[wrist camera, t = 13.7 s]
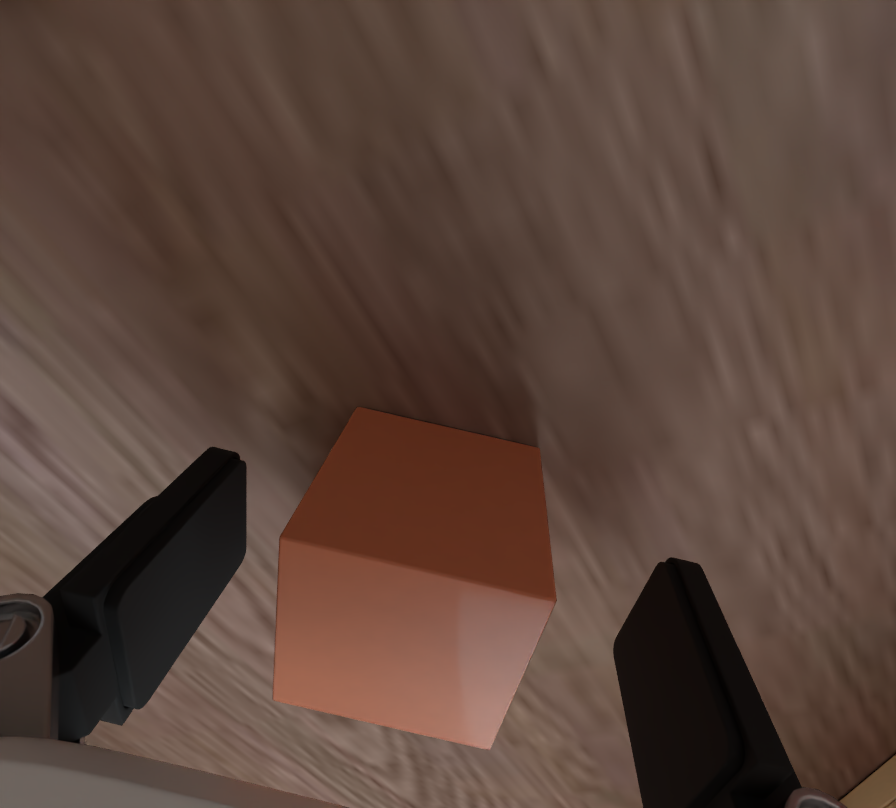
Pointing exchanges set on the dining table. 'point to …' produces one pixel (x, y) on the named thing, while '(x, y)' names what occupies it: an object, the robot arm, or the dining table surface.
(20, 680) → the robot arm
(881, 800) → the cabinet
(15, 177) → the dining table surface
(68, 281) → the dining table surface
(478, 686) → the block
